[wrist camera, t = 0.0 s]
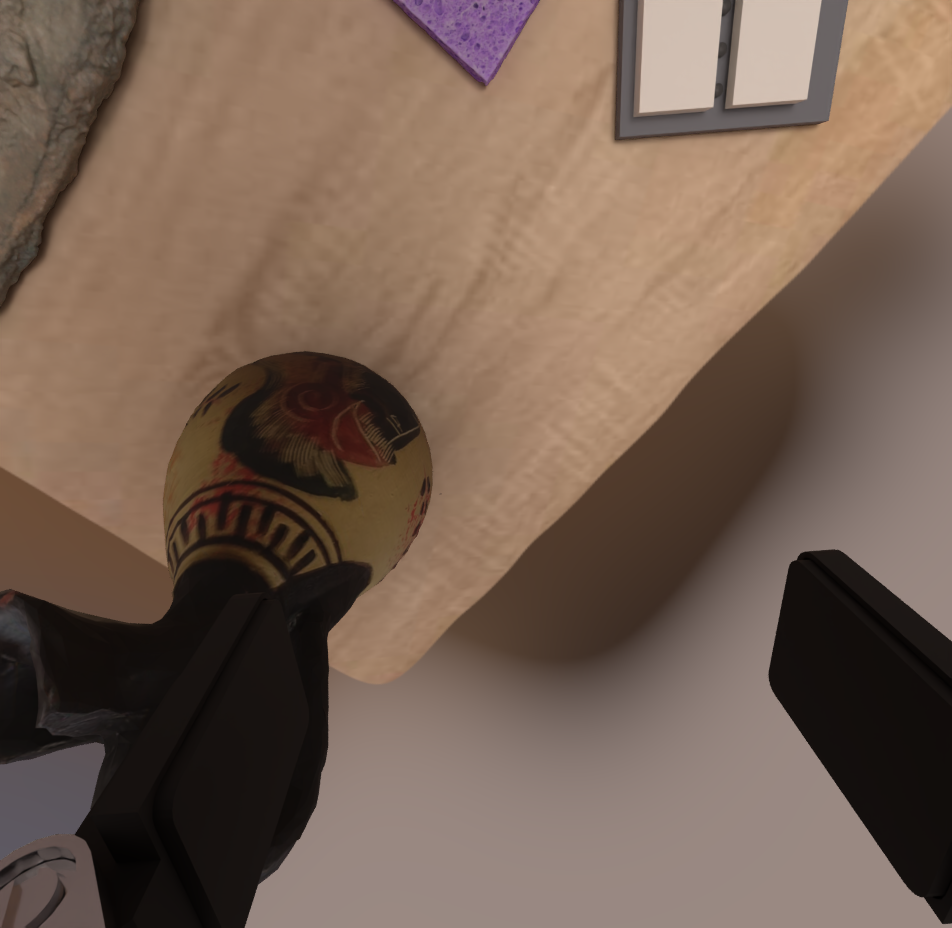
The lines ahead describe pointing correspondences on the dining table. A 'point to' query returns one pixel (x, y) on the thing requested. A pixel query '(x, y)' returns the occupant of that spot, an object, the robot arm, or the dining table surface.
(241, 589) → the ceramic jug
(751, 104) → the stub
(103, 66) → the elongated rock
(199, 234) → the dining table surface
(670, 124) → the mat
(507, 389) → the dining table surface
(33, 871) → the robot arm
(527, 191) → the dining table surface
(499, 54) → the sponges
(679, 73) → the ticket
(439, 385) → the dining table surface
